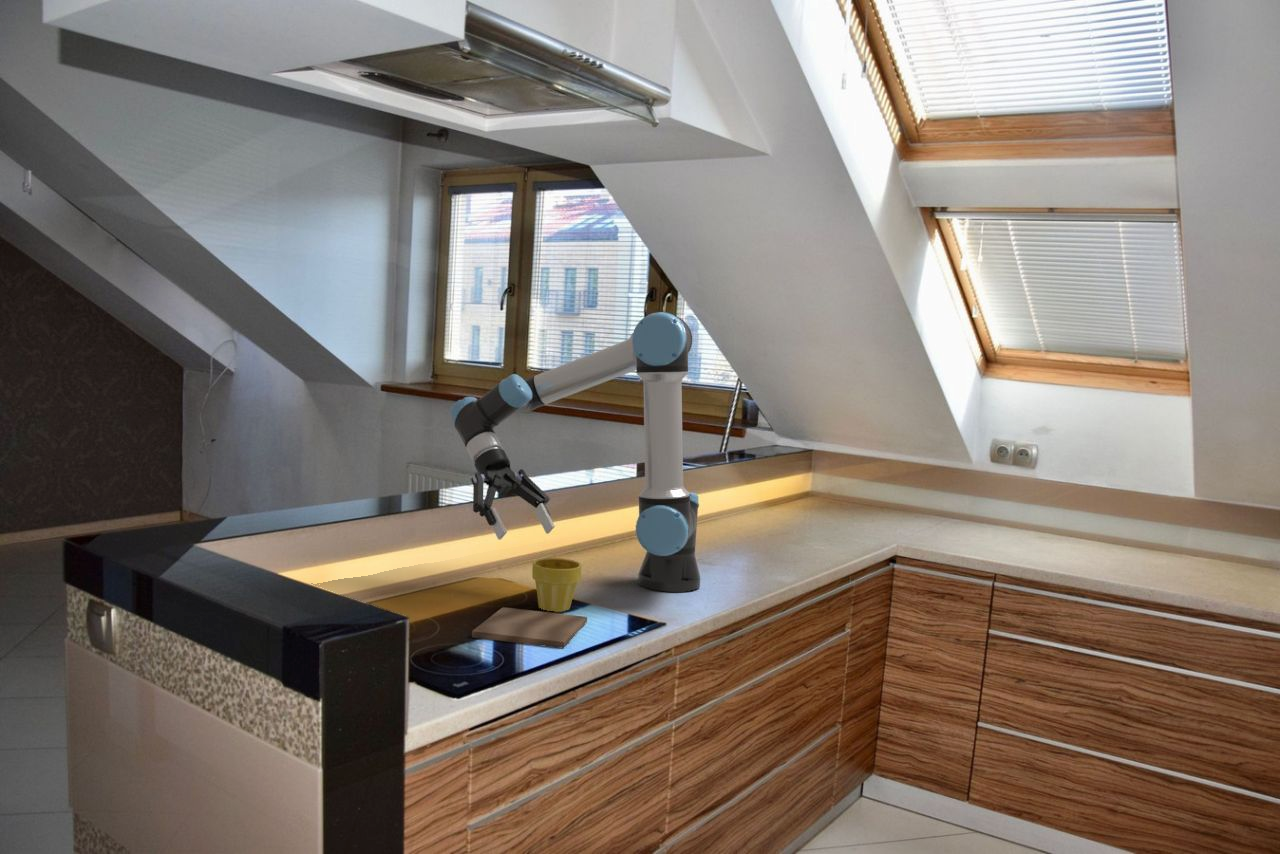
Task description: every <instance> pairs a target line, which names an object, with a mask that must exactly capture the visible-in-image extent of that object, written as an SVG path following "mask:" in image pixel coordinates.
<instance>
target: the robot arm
mask: <svg viewBox="0 0 1280 854" xmlns="http://www.w3.org/2000/svg"><path fill="white" fill-rule="evenodd" d="M692 345H693V333H692V330H691V328H690V327H689V325H688V324H687V322H686V321H685V320H684V319H682V318H681V317H679V316H677V315H674V314H672V313H669V312H665V311H664V312H663V311H659V312H652V313H650V314H647V315H646V316H644V317H643V318H642V319H640V321H638V323H637V324H636V325H635V328H634V330H633V332H632V333H631V334H630V336H629V338H628V339H626V340H623V341H621V342H619V343H615V344H613V345H611V346H609V347H608V346H607V347H605V348H602V349H600V350H597V351H595V352H592V353H590V354H587V355H585V356H582V357H580V358H577V359H575V360H572V361H569V362H567V363H564V364H561V365H559V366H557V367H554V368H552V369H548V370H546V371H544V372H541V373H539V374H536V375H533V376H531V377H528V378H526V379H524V378H523V377H521V376H520V375H518V374H515V373H513V374H510V375H509V376H507V377H505V378H504V379H502V380H501V381H500V382H499V383H498V384H497V385H496V386H494V387H492V389H490V390H489V391H488V392H486V393H485V394H484V395H482V396H481V397H480V398H478V399H477V398H476V397H475V396H466V397H463V398H462V399H458V400H457V401H456V402H455V403H454V404H452V406H451V407H450V410H449V411H450V412H449V414H450V417H451V419H452V421H453V425H454V428H455V430H456V431H457V433H458V435H459V437H460V439H461V441H462V443H463V445H464V446H465V450H467V453H468V455H469V457H470V459H471V461H472V463H473V464H474V467H475V469H476V472H475V473H474V475H472V477H471V479H470V480H471V483H472V486H473V490H472V491H473V495H472V498H473V499H472V511H473V513H479V516H480V517H484V518H485V520H486V522H487V524H488V525H489V526H491V527H492V529H493V531H494V533H495V537H496V538H497V540H502V539H503V538H504V536H505V535H506V534H507V533H508V531H507V529H506V527H505V525H504V523H503V521H502V519H501V517H500V515H499V513H498V511H497V509H496V507H492V505H493V502H494V499H495V496H496V493H502V492H505V493H507V492H509V493H511V494H515V495H517V496H518V497H519V498H521V499H522V500H524V501H525V502H527V503H528V504H530V505H531V506H532V507H533V508H534V513H535V514H536V517H537V518H538V520H539V523H540V524H541V527H542V529H543V530H544V532H545V533H546V535H547V534H550V533H551V532H552V530H553V529H554V528H555V524H554V522H553V520H552V518H551V513H550V512H549V509H548V507H547V504H548V503H549V501H550V500H551V498H550V497H549V495H547V494H546V493H545V492H544V491H543V490H542V489H541V488H540V487H539V486H538V485H537V484H536V483H535V482H534V481H533V480H532V479H531V478H530V477H529V476H528V475H527V473H526V471H525V470H524V469H523V468H521V469H519V470H518V471H517V472H514V471H513V469H512V468H511V462H510V459H509V457H508V456H507V454H506V451H505V450H504V448H503V446H502V444H501V441H500V440H499V438H498V436H497V434H496V433H495V430H494V428H496V427H497V426H499V425H500V424H501V423H503V422H504V421H505V420H507V419H508V418H509V417H511V416H512V415H518V414H527V413H530V412H533V411H535V410H536V409H538V408H540V407H544V406H546V405H548V404H550V403H553V402H555V401H558V400H561V399H564V398H567V397H570V396H571V395H574V394H577V393H579V392H582V391H585V390H587V389H590V388H593V387H595V386H598V385H601V384H603V383H606V382H609V381H610V380H614V379H616V378H620V377H622V376H624V375H627V374H629V373H633V372H635V371H636V375H637V376H638V377H639V378H640V379H641V380H642V382H643V427H644V428H643V429H644V431H643V432H644V434H643V435H644V439H643V440H644V443H643V444H644V486H645V487H644V488H643V489H642V490H641V491H640V492H639V494H638V517H637V520H636V523H635V533H636V534H635V535H636V538H637V541H638V543H639V545H640V547H642V548H643V549H644V550H645V551H646V553H645V556H644V558H643V560H642V564H641V565H640V569H639V571H638V574H637V584H638V585H640V586H641V587H643V588H646V589H649V590H655V591H660V592H667V593H668V592H669V593H671V592H672V593H683V592H685V593H686V591H687V592H692V591H691V590H693V591H696V590H695V589H697V590H699V589H700V588H701V574H700V571H699V566H698V562H697V558H696V542H697V527H698V515H699V514H698V512H699V511H698V510H699V508H700V503H699V495H698V494H697V493H696V492H690V491H688V489H686V488H685V487H684V465H683V464H684V462H683V461H684V456H683V455H684V453H683V450H684V449H683V446H684V445H683V399H682V398H683V395H682V394H683V392H682V390H683V389H682V387H683V386H682V381H683V379H684V378H686V376H687V375H688V374H689V353H690V351H691V348H692ZM484 484H485V485H487V486H488V487H487V490H486V495H485V498H484ZM699 587H700V588H699Z"/></svg>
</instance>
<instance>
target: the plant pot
mask: <svg viewBox="0 0 1280 854" xmlns="http://www.w3.org/2000/svg"><path fill="white" fill-rule="evenodd" d="M531 571H532V575H531V577H532V580H534V581H535V588H536V593H537V596H536V598H537V604H538V609H540V608H541V610H542V609H543V610H542V611H544V610H547V611H546V612H549V611H554V612H553V613H561V612H563V613H564V612H567V611H569V610H570V609H571V605H572V602H573V601H572V600H573V598H574V595H575V592H576V591H575V590H576V588H577V584H578V582H580V580H581V575H582V564H581V563H580V562H578V561H576V560H573V559H569V558H560V557H544V558H540V559H535V560H534V561H533V562H532V570H531ZM566 610H567V611H566Z"/></svg>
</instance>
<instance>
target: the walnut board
mask: <svg viewBox="0 0 1280 854" xmlns="http://www.w3.org/2000/svg"><path fill="white" fill-rule="evenodd" d="M586 622H587V623H588V616H582V615H574V614H566V613H559V612H549V611H539V610H532V609H531V610H529V609H522V608H521V609H520V608H514V607H513V608H512V607H505V606H504V607H501V608H500V609H499V610H497V611H496V612H495V613H493V614H492V615H491V616H490V617H488V618H487V619H486V620H484V621H483V622H482V623H480V624H479V625H478V626H477V627H476V628H474V629H473V630H472V631H471V638H475V639H483V640H491V641H499V642H507V643H508V642H509V643H514V644H525V645H532V646H533V645H534V646H540V645H545V646H544V647H548V646H553V647H552V648H557V647H562V648H561V649H565V648H566V647H567V646H568V645H569V643H570V642H571V641H572V640H573V639H574V638H575V637H576V635H577V634H578V633H579V632H580V631H581V630H582V629H583V628H584V627H585V625H586V624H587V623H586ZM585 623H586V624H585ZM581 628H582V629H581ZM580 629H581V630H580ZM579 630H580V631H579ZM578 631H579V632H578ZM577 632H578V633H577ZM576 633H577V634H576ZM575 634H576V635H575ZM574 636H575V637H574ZM573 637H574V638H573ZM572 638H573V639H572ZM571 639H572V640H571ZM570 640H571V641H570ZM569 641H570V642H569ZM567 644H568V645H567ZM566 645H567V646H566ZM565 646H566V647H565ZM564 647H565V648H564Z"/></svg>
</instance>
